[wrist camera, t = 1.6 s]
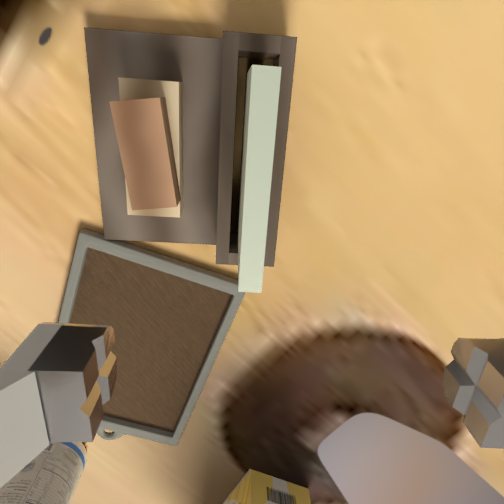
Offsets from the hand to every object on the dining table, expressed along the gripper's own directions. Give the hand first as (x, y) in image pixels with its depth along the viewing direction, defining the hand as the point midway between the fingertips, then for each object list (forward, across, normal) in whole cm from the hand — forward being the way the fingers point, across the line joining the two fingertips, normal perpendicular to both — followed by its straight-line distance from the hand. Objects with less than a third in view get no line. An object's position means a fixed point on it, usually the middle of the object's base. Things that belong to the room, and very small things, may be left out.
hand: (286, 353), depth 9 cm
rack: (+31, +6, 0) cm, 32 cm away
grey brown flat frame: (+32, +13, +26) cm, 43 cm away
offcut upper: (+28, +9, 0) cm, 29 cm away
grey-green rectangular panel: (+31, 0, 0) cm, 31 cm away
